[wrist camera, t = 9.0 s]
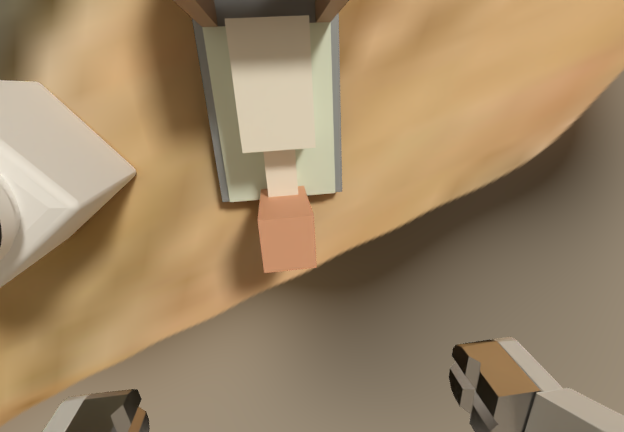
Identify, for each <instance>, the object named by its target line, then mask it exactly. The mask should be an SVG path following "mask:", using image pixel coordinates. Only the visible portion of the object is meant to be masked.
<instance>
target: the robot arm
mask: <svg viewBox="0 0 624 432" xmlns="http://www.w3.org/2000/svg"><path fill="white" fill-rule="evenodd" d="M452 357H453V358H454V360H455V361H456V362H455V363H454V364H453V365H452V366H451V367H450V373H449V380H450V385H451V390H452V392H453V394H454V397H455V399H456V400H457V402H458V404H459V406H460V407H462V408H463V409H464V410H466V411H467V412H469V413H470V425H471V426H472V428H473V430H474V431H475V432H624V416H623V415H621V414H619V413H617V412H615V411H613V410H611V409H610V408H607V407H606V406H604V405H602V404H600V403H598V402H596V401H594V400H592V399H590V398H588V397H586V396H584V395H582V394H580V393H578V392H576V391H575V390H573V389H571V388H562V387H561V386H560V385H559V384H558V383H557V382H556V381H555V379H554V378H553V377H552V376H551V375H550V374H549V373H548V372H547V371H546V370H545V369H544V368H543V367H542V366H541V365H540V364H539V363H538V362H537V361H536V360H535V359H534V358H533V357H532V356H531V355H530V354H529V353H528V352H527V351H526V350H525V349H524V347H523V346H522V345H521V344H520V343H519V342H518V341H517V340H515V339H514V338H512V337H505V338H498V339H492V340H483V341H476V342H469V343H463V344H457V345H455V346H454V348H453V352H452ZM140 402H141V397H140V394H139V392H138V390H137V389H136V390H135V389H131V390H122V391H113V392H104V393H95V394H88V395H80V396H71V397H68V398H67V399H65V400H64V401H63V402H62V403H61V404H60V405H59V407H58V408H57V410H56V411H55V413H54V414H53V416H52V417H51V419H50V420H49V422H48V423H47V425H46V426H45V428H44V429H43V431H42V432H149V418H148V416H147V413H146V411H144V410H143V409H141V408H139V407H138V406H139V404H140Z"/></svg>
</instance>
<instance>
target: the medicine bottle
mask: <svg viewBox="0 0 624 432" xmlns="http://www.w3.org/2000/svg"><path fill="white" fill-rule="evenodd" d="M135 175H136V169H135V168H134V167H133V166H132V165H131V164H130V163H128V162H127V161H126V160H125V159H124V158H123V157H122V156H121V155H120V154H118V153H117V152H116V151H115V150H114V149H113V148H112V147H111V146H110V145H108V144H107V143H106V142H105V141H104V140H103V139H102V138H101V137H100V136H99V135H97V134H96V133H95V132H94V131H93V130H92V129H91V128H90V127H89V126H87V125H86V124H85V123H84V122H83V121H82V120H81V119H80V118H79V117H77V116H76V115H75V114H74V113H73V112H72V111H71V110H70V109H69V108H67V107H66V106H65V105H64V104H63V103H62V102H61V101H60V100H59V99H58V98H56V97H55V96H54V95H53V94H52V93H51V92H50V91H49V90H48V89H46V88H45V87H44V86H43V85H42V84H40V83H39V82H35V81H12V80H0V288H1V287H2V286H4V285H5V284H6V283H8V282H9V281H10V280H12V279H13V278H15V277H16V276H17V275H19V274H20V273H21V272H23V271H24V270H26V269H27V268H28V267H30V266H31V265H32V264H34V263H35V262H37V261H38V260H39V259H41V258H42V257H43V256H45V255H46V254H48V253H49V252H50V251H52V250H53V249H54V248H56V247H57V246H58V245H60V244H61V243H63V242H64V241H65V240H67V239H68V238H69V237H70V236H72V235H73V234H74V233H75V232H76V231H77V230H78V229H79V228H80V227H81V226H82V225H83V224H84V223H85V222H86V221H88V220H89V219H90V218H91V217H92V216H93V215H94V214H95V213H96V212H97V211H98V210H99V209H100V208H101V207H102V206H104V205H105V204H106V203H107V202H108V201H109V200H110V199H111V198H112V197H113V196H114V195H115V194H116V193H117V192H118V191H120V190H121V189H122V188H123V187H124V186H125V185H126V184H127V183H128V182H129V181H130V180H131V179H132V178H133V177H134V176H135Z"/></svg>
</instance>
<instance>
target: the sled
mask: <svg viewBox="0 0 624 432" xmlns="http://www.w3.org/2000/svg"><path fill="white" fill-rule="evenodd" d="M225 27H226V34H227V42H228V49H229V56H230V64H231V71H232V79H233V86H234V94H235V101H236V109H237V116H238V123H239V131H240V138H241V146H242V153H252V152H263V153H264V162H265V171H266V180H267V189H261V193H260V202H259V212H258V228H259V236H260V244H261V252H262V260H263V268H264V273H270V272H279V271H288V270H297V269H307V268H316V267H317V263H316V245H315V227H314V214H313V211H312V208H311V205H310V203H309V200H308V197H307V194H306V191H305V188H304V186H298V183H297V169H296V156H295V149H305V148H316V144H315V124H314V104H313V84H312V64H311V44H310V24H309V15H303V16H277V17H251V18H225Z"/></svg>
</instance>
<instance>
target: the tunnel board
mask: <svg viewBox="0 0 624 432" xmlns="http://www.w3.org/2000/svg"><path fill="white" fill-rule="evenodd" d="M173 1H174V2H175V3H176V4H177V5H178V6H180V7H181V8H182V9H183V10H184V11H185V12H186V13H187V14H188V15H189V16H191V17H192V21H193V27H194V33H195V39H196V45H197V51H198V57H199V63H200V69H201V75H202V81H203V87H204V93H205V99H206V105H207V111H208V117H209V123H210V129H211V135H212V141H213V147H214V153H215V159H216V165H217V171H218V177H219V184H220V190H221V196H222V202H228V201H230V202H239V201H250V200H260V193H261V189H267V180H266V171H265V162H264V153H263V152H252V153H242V146H241V138H240V131H239V123H238V116H237V109H236V101H235V94H234V86H233V79H232V71H231V64H230V56H229V49H228V42H227V34H226V27H225V18H251V17H277V16H303V15H309V24H310V44H311V64H312V84H313V104H314V124H315V144H316V148H305V149H295V156H296V169H297V183H298V186H304V188H305V191H306V194H307V195H318V194H330V193H335V192H342V161H341V112H340V63H339V14H338V13H339V12H340V10H341V9H342V8H343V7H344V6H345V5H346V3H347V2H348V1H349V0H173Z"/></svg>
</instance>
